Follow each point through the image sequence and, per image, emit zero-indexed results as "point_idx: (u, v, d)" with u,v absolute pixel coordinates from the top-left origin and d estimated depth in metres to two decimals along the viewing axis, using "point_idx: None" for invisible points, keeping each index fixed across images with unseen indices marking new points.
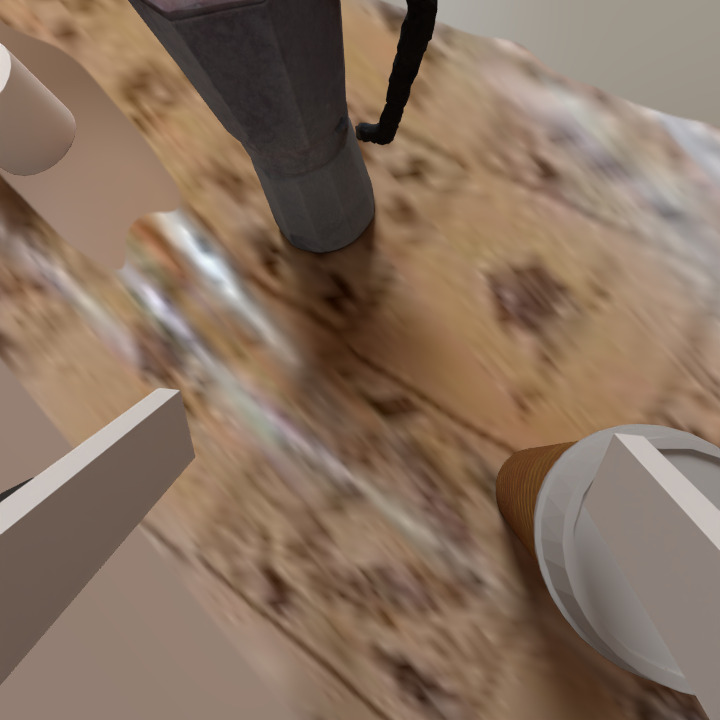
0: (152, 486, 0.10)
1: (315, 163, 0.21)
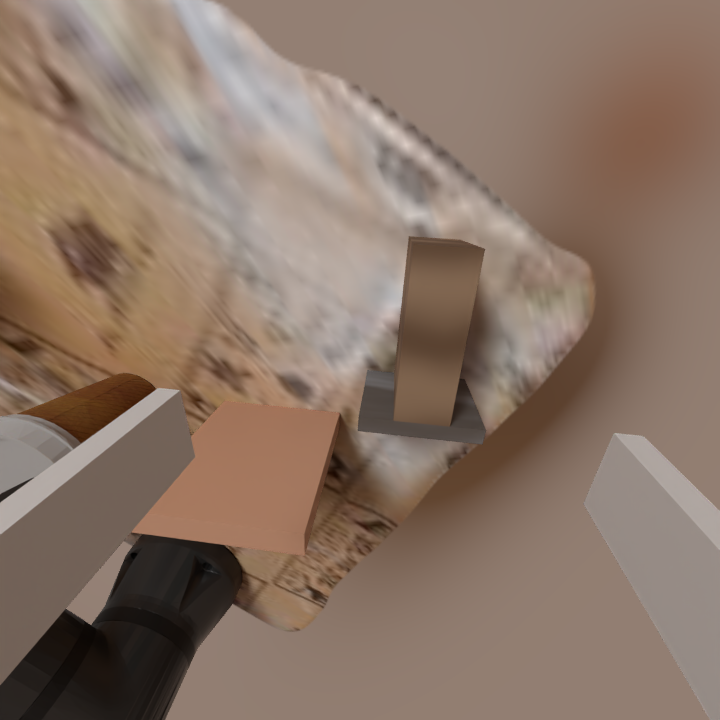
0: (152, 486, 0.10)
1: None
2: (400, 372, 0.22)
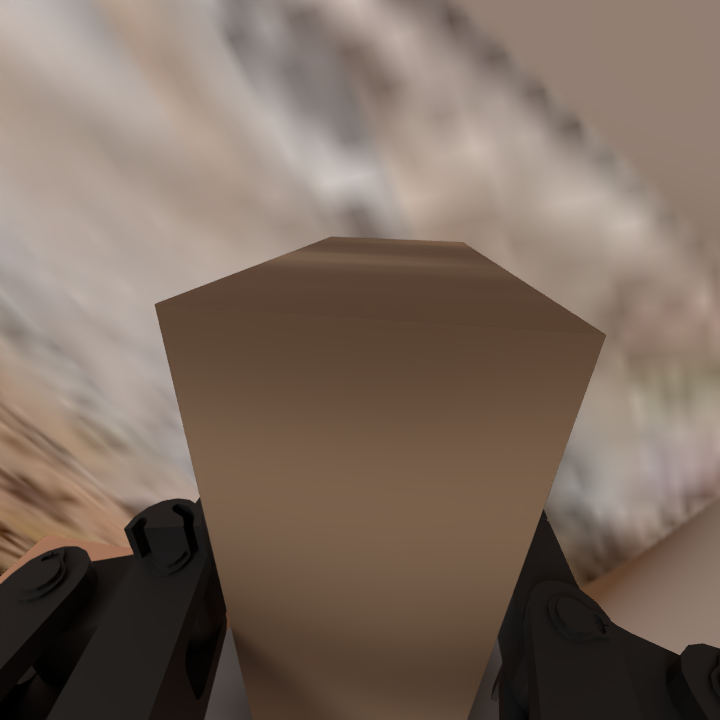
0: None
1: None
2: (254, 708, 0.07)
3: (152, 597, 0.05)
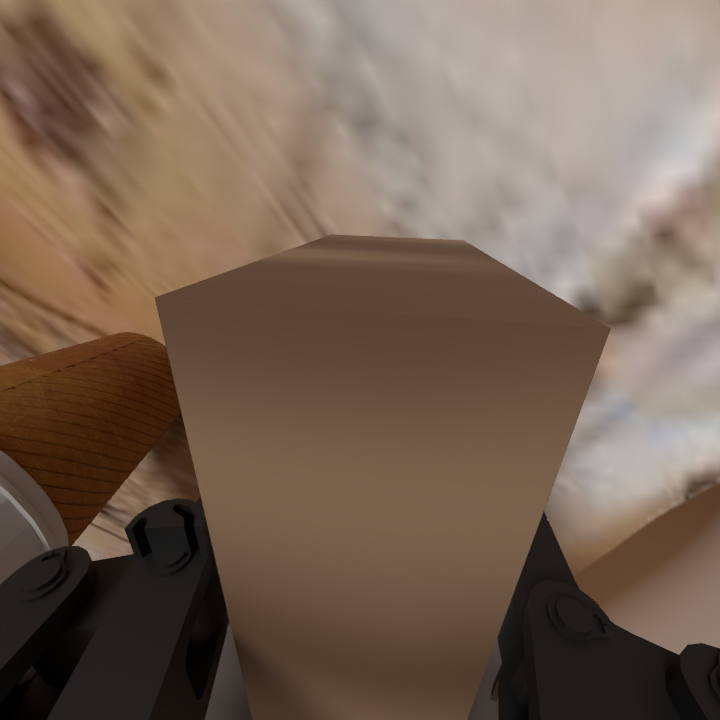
0: None
1: None
2: (254, 706, 0.07)
3: (153, 597, 0.05)
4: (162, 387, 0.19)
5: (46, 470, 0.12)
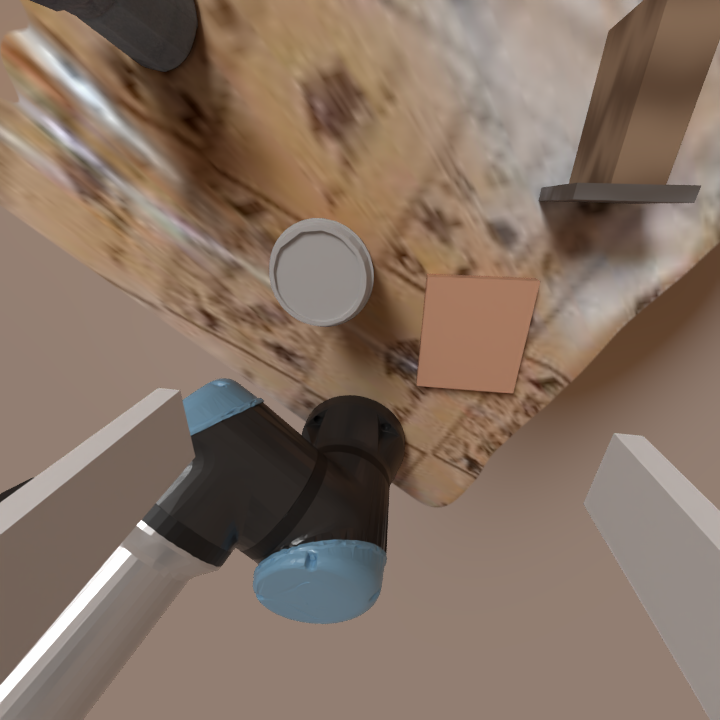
0: (152, 485, 0.10)
1: (104, 6, 0.25)
2: (630, 124, 0.25)
3: None
4: None
5: None
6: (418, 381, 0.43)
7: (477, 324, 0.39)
